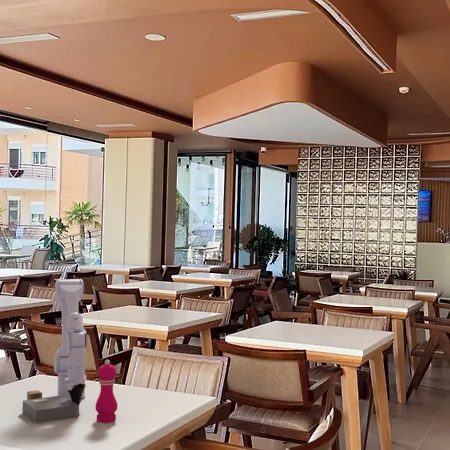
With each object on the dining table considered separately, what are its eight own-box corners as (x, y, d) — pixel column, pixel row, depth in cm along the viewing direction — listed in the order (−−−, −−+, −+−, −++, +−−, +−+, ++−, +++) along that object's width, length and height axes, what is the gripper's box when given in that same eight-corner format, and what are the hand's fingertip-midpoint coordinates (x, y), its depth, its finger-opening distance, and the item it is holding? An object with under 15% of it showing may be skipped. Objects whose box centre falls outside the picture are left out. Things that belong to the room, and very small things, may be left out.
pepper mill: (93, 418, 218) (94, 358, 218) (114, 416, 221) (115, 357, 221) (97, 424, 211) (98, 362, 211) (119, 422, 214) (120, 361, 214)
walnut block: (38, 404, 234) (38, 390, 234) (41, 406, 230) (42, 392, 230) (27, 405, 231) (27, 391, 231) (30, 408, 228) (30, 394, 228)
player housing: (62, 407, 230) (62, 394, 230) (77, 417, 219) (77, 404, 219) (22, 412, 223) (22, 400, 223) (35, 423, 211) (35, 409, 211)
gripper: (73, 361, 233) (72, 399, 233) (57, 370, 219) (56, 411, 219) (92, 362, 232) (91, 400, 232) (77, 371, 218) (76, 412, 218)
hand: (75, 405), depth 226 cm, fingers closed
